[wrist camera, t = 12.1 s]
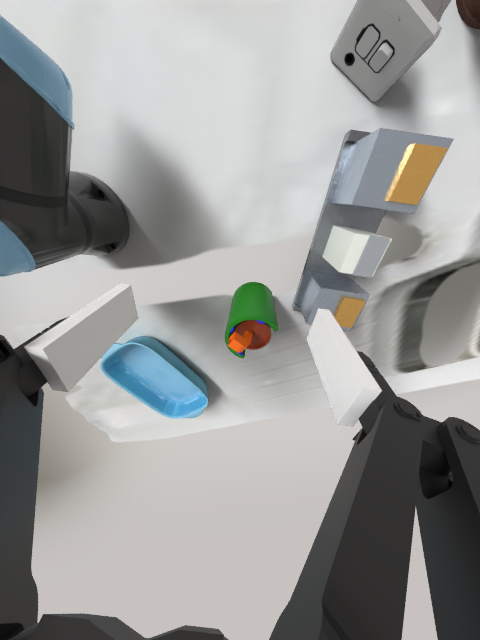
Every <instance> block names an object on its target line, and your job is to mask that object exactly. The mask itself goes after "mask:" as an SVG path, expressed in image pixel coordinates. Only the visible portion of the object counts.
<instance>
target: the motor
mask: <svg viewBox="0 0 480 640" xmlns="http://www.w3.org/2000/svg"><path fill="white" fill-rule="evenodd" d="M270 326H271V327H272V328H273V330H274V331H275V332H276V331H278V325H277V319H276V313H275V308H274V302H273V296H272V292H271V291H270V290H269V288H268V287H266V286H265V285H263V284H261V283H257V282H250V283H246V284H243V285H242V286H241V287H239V288H238V289H237V290H236V292H235V294H234V297H233V301H232V306H231V311H230V315H229V320H228V325H227V329H226V334H225V342H226V345H227V347H228V349H229V350H230V351H231V352H232V353H233V354H235V355H236V356H238V357H240V358H244V357H245V349H251V350H255V349H260V348H262V347H264V346H266V345H267V344H268V343H269V341H270V339H271V330H270Z"/></svg>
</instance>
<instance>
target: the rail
mask: <svg viewBox="0 0 480 640" xmlns="http://www.w3.org/2000/svg"><path fill="white" fill-rule="evenodd" d="M452 141H453V139H452V138H445V137H438V136H431V135H424V134H417V133H410V132H403V131H397V130H390V129H383V128H380V129H378V130H376V131H375V132H373V133H369V132H362V131H356V130H350V131H349V132H347V133H346V134H345V137H344V140H343V143H342V146H341V150H340V153H339V156H338V159H337V163H336V166H335V169H334V172H333V176H332V179H331V182H330V185H329V189H328V192H327V195H326V198H325V202H324V205H323V208H322V211H321V215H320V218H319V221H318V224H317V228H316V231H315V234H314V237H313V241H312V244H311V247H310V251H309V254H308V257H307V260H306V263H305V267H304V270H303V273H302V276H301V279H300V283H299V286H298V289H297V292H296V296H295V299H294V302H293V305H292V307H293V310H294V311H301V312H302V314H303V316H304V319H305V321H306V324H308V325H312V324H313V321H314V318H315V316H316V313H317V310H318V308H319V309H327V310H330V312H331V313H332V315H333V316H334V318H335V319H336V321H337V323H338V324H339V326H340V327H341V329H342V330H349V331H351V329H352V327H353V325H354V323H355V321H356V320H357V318H358V316H359V314H360V312H361V310H362V308H363V307H364V305H365V303H366V301H367V299H368V297H369V294H368V293H367V292H366V291H364V290H363V289H362V288H361V287H360V286H359V285H358V284H356V283H355V282H354V281H353V280H354V278H355V276H354V275H353V274H348V273H341V272H338V271H337V270H336V269H335V268H334V267H333V266H332V265H331V264H330V263H328V262H327V261H326V260H325V259H324V258H323V257H322V256H323V253H324V250H325V248H326V245H327V242H328V239H329V236H330V233H331V230H332V228H333V225H334V226H341V227H347V228H354V229H361V230H365V231H368V232H371V233H376V231H377V228H378V226H379V224H380V222H381V220H382V218H383V216H384V213H385V211H394V212H404V213H414V212H415V210H416V208H417V206H418V204H419V203H420V201H421V199H422V197H423V195H424V193H425V191H426V190H427V188H428V186H429V184H430V182H431V180H432V178H433V177H434V175H435V173H436V171H437V169H438V167H439V165H440V164H441V162H442V160H443V158H444V156H445V154H446V152H447V151H448V149H449V147H450V145H451V143H452Z"/></svg>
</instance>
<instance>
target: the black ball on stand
mask: <svg viewBox="0 0 480 640" xmlns="http://www.w3.org/2000/svg"><path fill="white" fill-rule="evenodd" d="M456 4H457V8H458V12H459V14H460V16H461V18H462V20H463V21H464V22H465V23H466V24H467V25H468V26H470V27H473V28H476V29H480V0H456Z"/></svg>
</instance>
